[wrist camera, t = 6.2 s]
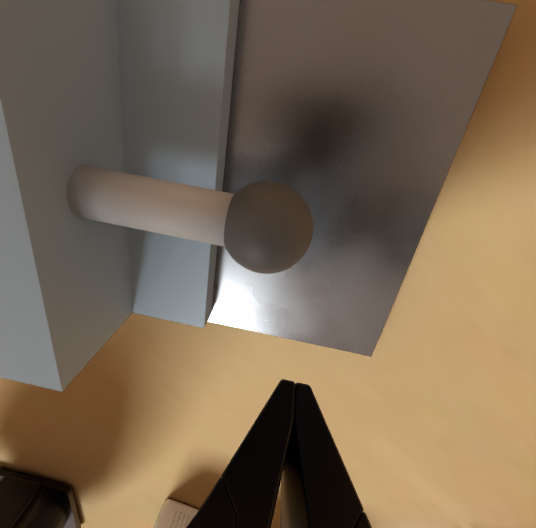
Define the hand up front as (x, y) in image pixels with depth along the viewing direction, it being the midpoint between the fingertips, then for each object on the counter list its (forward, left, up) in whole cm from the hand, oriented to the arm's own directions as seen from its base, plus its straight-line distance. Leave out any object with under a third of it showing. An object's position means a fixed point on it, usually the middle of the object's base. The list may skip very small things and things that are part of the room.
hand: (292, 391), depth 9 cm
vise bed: (+4, +2, -5) cm, 7 cm away
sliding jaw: (+4, +4, -4) cm, 8 cm away
